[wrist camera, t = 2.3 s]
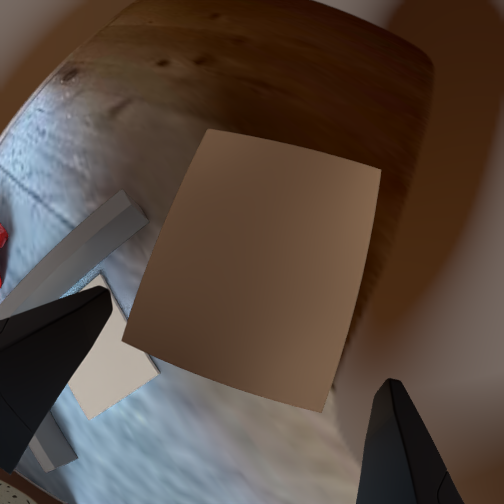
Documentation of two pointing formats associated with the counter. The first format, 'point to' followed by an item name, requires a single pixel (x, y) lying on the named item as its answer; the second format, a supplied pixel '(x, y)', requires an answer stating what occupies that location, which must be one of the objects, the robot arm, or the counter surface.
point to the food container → (23, 490)
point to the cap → (2, 241)
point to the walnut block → (258, 267)
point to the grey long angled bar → (109, 341)
